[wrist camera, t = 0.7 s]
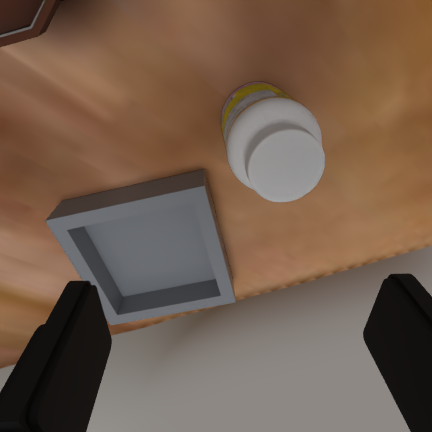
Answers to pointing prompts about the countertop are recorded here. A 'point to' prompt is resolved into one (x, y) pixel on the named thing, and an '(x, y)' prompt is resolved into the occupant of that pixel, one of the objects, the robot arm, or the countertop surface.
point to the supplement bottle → (272, 142)
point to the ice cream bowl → (25, 19)
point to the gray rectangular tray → (148, 247)
